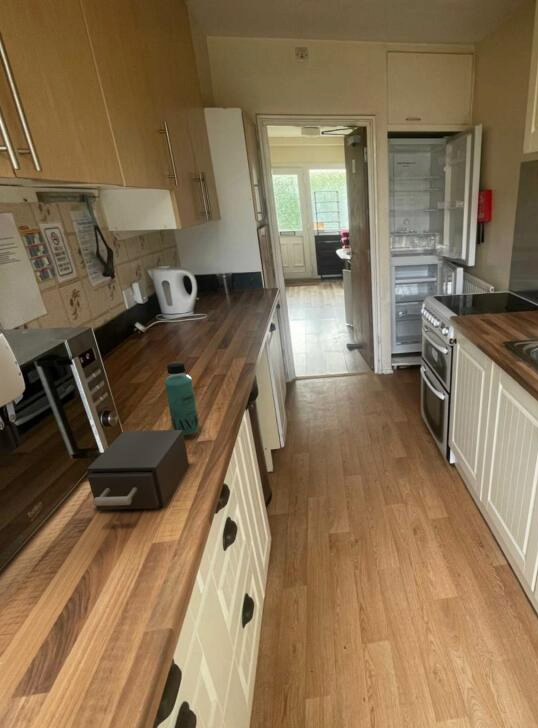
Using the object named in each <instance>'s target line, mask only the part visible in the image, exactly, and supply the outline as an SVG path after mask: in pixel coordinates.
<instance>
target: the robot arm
mask: <svg viewBox="0 0 538 728" xmlns="http://www.w3.org/2000/svg"><path fill="white" fill-rule="evenodd" d="M25 390H26V383H25V380H24V375H23V372H22V370H21V368H20V366H19V363H18V360H17V358H16V355H15V354H14V352H13V350H12V347H11V346H10V343H9V342H8V340H7V338H6V337H5V335H4V334H3V332H2V331H1V329H0V452H13V451H15V450H16V449H17V448H19V447H20V446H22V441H21V439H20V436H19V433H18V430H17V428H16V425H15V421H16V419H17V416H16V411H15V410H16V406H17V405H18V403H19V402H20V401H21V400H22V399H23V397H24V394H23V393H24V392H25Z"/></svg>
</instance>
